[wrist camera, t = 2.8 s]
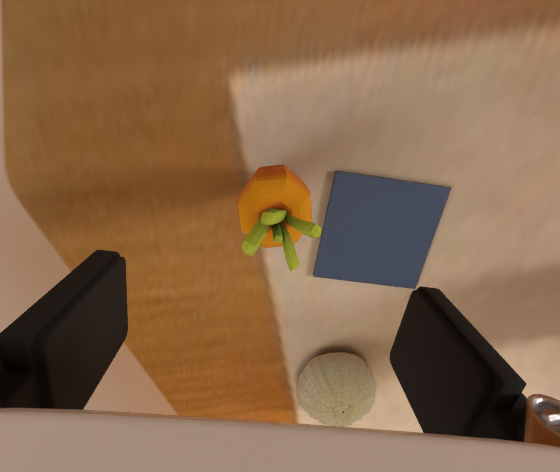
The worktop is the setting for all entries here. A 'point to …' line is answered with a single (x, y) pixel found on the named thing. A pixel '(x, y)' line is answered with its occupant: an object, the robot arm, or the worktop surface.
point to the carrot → (275, 212)
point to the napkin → (378, 229)
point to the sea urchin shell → (336, 388)
